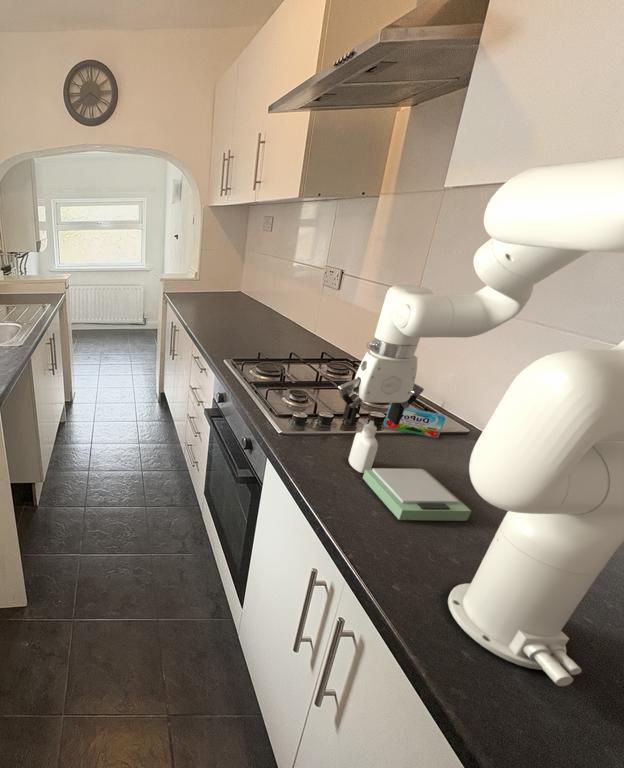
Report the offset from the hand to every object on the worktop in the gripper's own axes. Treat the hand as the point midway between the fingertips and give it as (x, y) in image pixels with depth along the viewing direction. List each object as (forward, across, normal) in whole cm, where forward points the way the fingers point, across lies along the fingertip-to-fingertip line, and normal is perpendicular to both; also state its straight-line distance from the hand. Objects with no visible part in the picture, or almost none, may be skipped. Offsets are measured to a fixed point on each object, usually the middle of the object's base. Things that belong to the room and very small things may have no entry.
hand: (370, 421), depth 91 cm
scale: (+11, +5, -12) cm, 17 cm away
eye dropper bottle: (+12, 0, -1) cm, 12 cm away
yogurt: (+12, +22, +15) cm, 29 cm away
